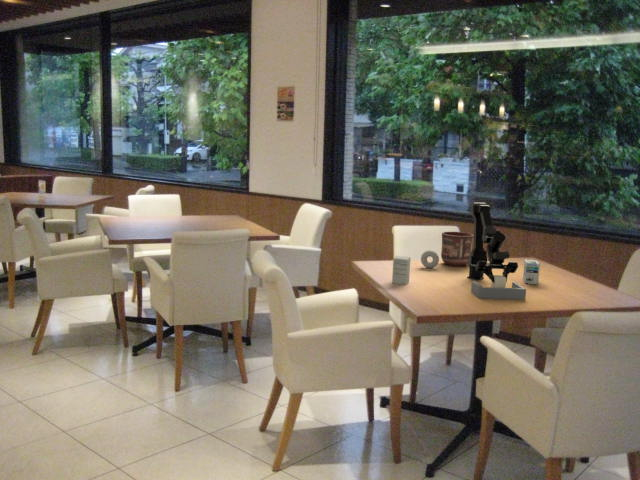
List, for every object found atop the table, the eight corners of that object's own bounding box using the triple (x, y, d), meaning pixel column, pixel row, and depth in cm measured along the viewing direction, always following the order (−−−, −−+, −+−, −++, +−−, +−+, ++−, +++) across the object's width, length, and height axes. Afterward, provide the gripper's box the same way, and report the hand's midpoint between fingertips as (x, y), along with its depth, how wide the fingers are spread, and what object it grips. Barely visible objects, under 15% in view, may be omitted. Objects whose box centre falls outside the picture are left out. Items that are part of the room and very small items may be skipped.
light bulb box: (538, 284, 318) (540, 263, 316) (524, 283, 319) (526, 262, 318) (535, 280, 328) (537, 260, 327) (522, 279, 330) (524, 259, 328)
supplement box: (394, 280, 316) (396, 255, 314) (409, 281, 313) (411, 256, 311) (391, 283, 309) (393, 257, 307) (406, 284, 306) (408, 259, 304)
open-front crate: (471, 291, 299) (471, 280, 298) (514, 292, 300) (515, 282, 299) (479, 298, 285) (480, 287, 284) (525, 299, 286) (526, 289, 285)
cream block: (490, 294, 295) (492, 275, 293) (501, 294, 295) (502, 275, 293) (493, 296, 290) (495, 277, 288) (504, 297, 290) (506, 277, 289)
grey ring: (438, 268, 349) (440, 250, 347) (437, 269, 345) (439, 251, 344) (420, 266, 352) (422, 249, 350) (419, 267, 349) (420, 250, 347)
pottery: (465, 269, 350) (467, 237, 347) (435, 264, 359) (437, 233, 356) (475, 264, 365) (478, 234, 362) (446, 260, 374) (448, 230, 371)
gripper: (479, 243, 292) (484, 272, 283) (518, 245, 293) (525, 273, 284) (473, 257, 301) (477, 285, 292) (511, 258, 302) (517, 286, 293)
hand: (499, 282), depth 290 cm, fingers open, 5 cm apart
